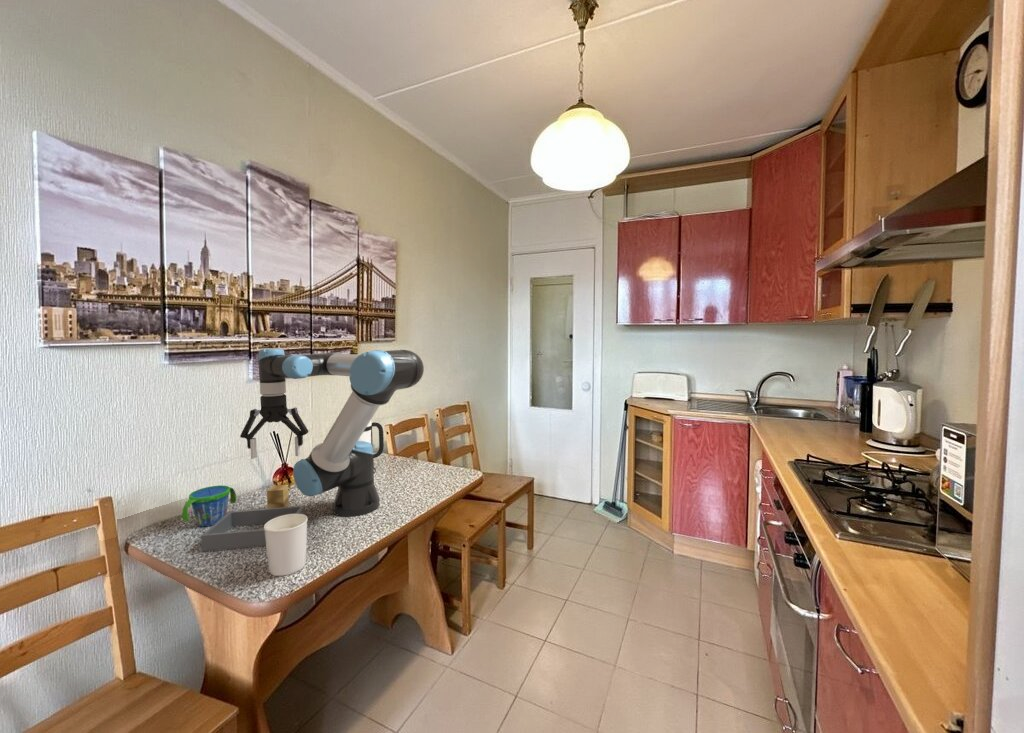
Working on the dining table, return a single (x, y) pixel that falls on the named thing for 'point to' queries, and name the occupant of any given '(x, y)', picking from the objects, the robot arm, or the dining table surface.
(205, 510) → the snack cup
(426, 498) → the dining table surface
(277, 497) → the ochre block
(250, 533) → the charcoal bin
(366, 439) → the coffee press
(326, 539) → the dining table surface
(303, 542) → the candle holder
